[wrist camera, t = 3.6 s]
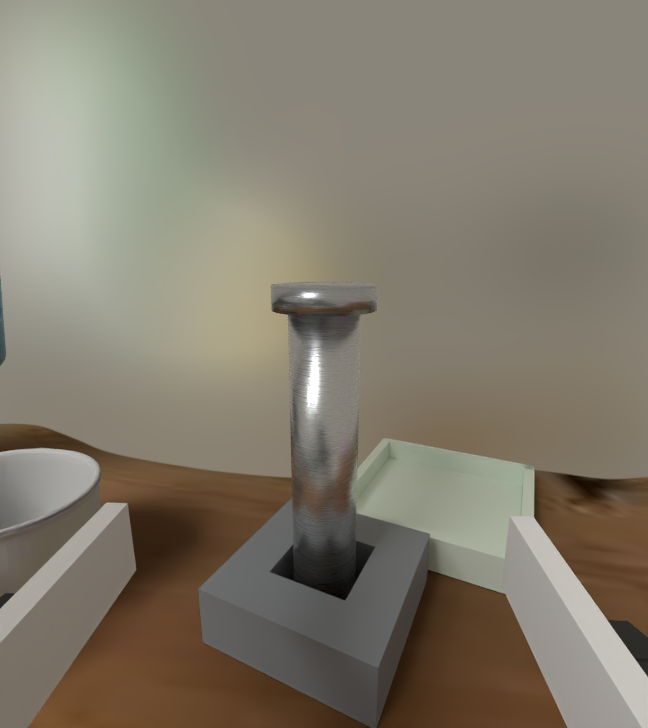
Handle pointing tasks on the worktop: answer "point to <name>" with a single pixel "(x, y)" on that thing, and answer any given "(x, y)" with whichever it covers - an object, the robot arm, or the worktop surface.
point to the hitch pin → (324, 425)
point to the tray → (448, 504)
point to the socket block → (320, 614)
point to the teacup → (42, 508)
